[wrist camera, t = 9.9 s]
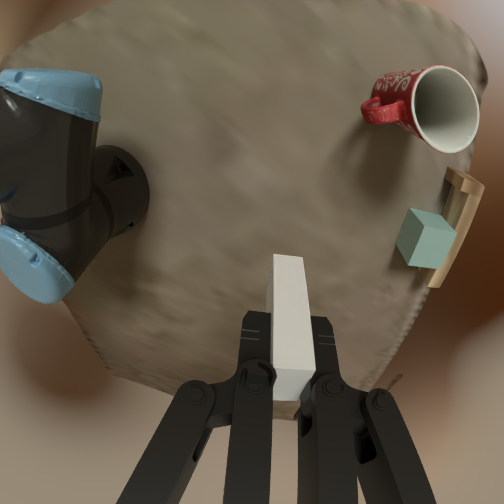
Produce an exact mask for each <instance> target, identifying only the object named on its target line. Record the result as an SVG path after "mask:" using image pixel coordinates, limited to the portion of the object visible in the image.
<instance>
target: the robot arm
mask: <svg viewBox="0 0 504 504" xmlns="http://www.w3.org/2000/svg"><path fill="white" fill-rule="evenodd" d="M102 93H103V86H102V83H101V81H100V79H99V78H98V77H96V76H94V75H92V74H88V73H83V72H76V71H68V70H58V69H43V68H22V69H6V70H3V71H2V72H1V74H0V205H1V211H2V217H3V223H2V224H1V225H0V268H1V270H2V271H3V272H4V274H5V275H6V276H7V277H8V279H9V280H10V281H11V282H12V283H13V284H14V285H15V286H16V287H17V288H18V289H19V290H20V291H22V292H23V293H24V294H26V295H27V296H28V297H30V298H32V299H34V300H36V301H38V302H40V303H44V304H54V303H57V302H59V301H60V300H61V299H62V298H63V297H64V296H65V295H66V294H67V293H68V292H69V291H70V290H71V289H72V288H73V287H74V285H75V282H76V281H77V279H78V278H79V277H80V275H81V274H82V273H83V271H84V270H85V269H86V267H87V266H88V265H89V263H90V262H91V261H92V260H93V258H94V257H95V256H96V255H97V253H98V252H99V251H100V250H101V248H102V247H103V246H104V245H105V243H106V242H107V241H108V240H109V239H111V238H113V237H116V236H118V235H120V234H122V233H125V232H127V231H128V230H130V229H131V228H133V227H134V226H135V225H136V224H137V223H138V221H139V220H140V219H141V218H142V217H143V215H144V214H145V212H146V209H147V207H148V202H149V186H148V181H147V178H146V176H145V173H144V171H143V169H142V167H141V166H140V164H139V163H138V162H137V161H136V159H135V158H134V157H133V156H132V155H130V154H129V153H128V152H126V151H125V150H123V149H121V148H118V147H115V146H110V145H103V146H98V147H96V139H97V132H98V126H99V122H100V121H101V116H100V107H101V100H102ZM299 398H300V400H301V406H300V408H299V409H298V410H297V412H296V413H295V415H294V419H293V420H296V419H297V417H298V498H297V504H358V487H357V477H358V480H359V482H360V485H361V489H362V492H363V494H364V497H365V501H366V504H436V501H435V498H434V495H433V492H432V489H431V487H430V484H429V481H428V478H427V476H426V473H425V471H424V468H423V465H422V463H421V460H420V458H419V455H418V453H417V450H416V448H415V445H414V443H413V441H412V438H411V436H410V433H409V431H408V429H407V427H406V424H405V422H404V420H403V417H402V415H401V413H400V411H399V409H398V407H397V404H396V402H395V400H394V398H393V396H392V395H391V393H390V392H388V391H387V390H385V389H381V388H377V389H373V390H371V391H370V392H369V393H368V392H365V391H361V390H358V389H354V388H352V387H350V386H349V385H347V384H346V383H345V382H344V380H343V379H342V378H341V375H340V371H339V364H338V358H337V351H336V345H335V339H334V333H333V328H332V325H331V323H330V322H329V320H328V319H327V317H318V316H310V310H309V302H308V294H307V287H306V279H305V272H304V265H303V258H302V257H295V256H287V255H278V254H273V260H272V265H271V271H270V276H269V281H268V286H267V292H266V312H257V311H248V312H247V314H246V315H245V317H244V318H243V322H242V330H241V339H240V348H239V357H238V366H237V371H236V373H235V374H234V376H233V377H232V378H230V379H229V380H227V381H225V382H221V383H215V384H209V385H208V384H207V383H205V382H203V381H199V380H192V381H188V382H186V383H184V384H182V386H181V387H180V388H179V389H178V391H177V393H176V395H175V396H174V398H173V400H172V402H171V404H170V406H169V408H168V409H167V411H166V413H165V415H164V417H163V418H162V420H161V422H160V424H159V426H158V428H157V430H156V431H155V433H154V435H153V437H152V439H151V440H150V442H149V444H148V446H147V448H146V450H145V451H144V453H143V455H142V457H141V459H140V461H139V462H138V464H137V466H136V468H135V470H134V471H133V473H132V475H131V477H130V479H129V481H128V482H127V484H126V486H125V488H124V490H123V492H122V494H121V495H120V497H119V499H118V501H117V503H116V504H179V501H180V499H181V497H182V495H183V493H184V491H185V489H186V487H187V485H188V483H189V481H190V478H191V476H192V474H193V472H194V470H195V468H196V466H197V463H198V461H199V459H200V457H201V455H202V452H203V450H204V448H205V446H206V444H207V441H208V439H209V437H210V434H211V432H212V430H213V428H217V427H222V426H228V425H231V429H230V439H229V448H228V457H227V467H226V476H225V486H224V495H223V504H269V495H270V473H271V447H272V415H273V400H284V401H298V399H299Z"/></svg>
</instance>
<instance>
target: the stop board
mask: <svg viewBox="0 0 504 504" xmlns="http://www.w3.org/2000/svg"><path fill="white" fill-rule="evenodd" d="M445 179H446V180H448V181H449V182H450V183H451V184H452V186H451V189H450V192H449V194H448V197H447V200H446V203H445V206H444V209H443V211H442V214H441V216H442V217H443V218H444V219H445V220H446V222H447V223H448V224H449V225H450V226H451V227H452V228H453V229H454V230H455V232H456V233H457V235H456V237H455V239H454V242H453V244H452V246H451V248H450V250H449V252H448V254H447V256H446V258H445V261H444V263H443V264H442V266H441V268H440V269H433V268H425V267H418V271H419V273H420V274H421V276H422V278H423V280H424V282H425V283H426V285H427V287H437V288H439V287H440V285H441V283H442V282H443V280H444V278H445V276H446V275H447V273H448V271H449V269H450V267H451V265H452V263H453V261H454V259H455V257H456V255H457V253H458V250H459V249H460V247H461V245H462V243H463V240H464V238H465V236H466V234H467V231H468V229H469V227H470V224H471V222H472V220H473V217H474V214H475V212H476V209H477V207H478V204H479V201H480V199H481V196H482V193H483V190H484V186H483V185H482V184H480V183H479V182H478V181H476V180H475V179H474V178H472V177H471V176H469V175H468V174H465V173H463V172H460V171H458V170H455V169H452V168H450V167H448V168H447V171H446V175H445Z"/></svg>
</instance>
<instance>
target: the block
mask: <svg viewBox="0 0 504 504" xmlns="http://www.w3.org/2000/svg"><path fill="white" fill-rule="evenodd" d="M456 235H457V233H456V232H455V230H454V229H453V228H452V227H451V226H450V225H449V224H448V223H447V222H446V220H445V219H444V218H443V217H442V216H441V215H437V214H433V213H429V212H425V211H421V210H417V209H412V208H409V210H408V213H407V216H406V218H405V221H404V224H403V227H402V229H401V232H400V235H399V237H398V240H397V242H396V246H397V247H398V249H399V251H400V252H401V254H402V256H403V258H404V259H405V261H406V263H407V265H409V266H417V267H425V268H433V269H440V268H441V266H442V264H443V263H444V261H445V258H446V256H447V254H448V252H449V250H450V248H451V246H452V244H453V242H454V239H455V237H456Z"/></svg>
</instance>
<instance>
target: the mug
mask: <svg viewBox="0 0 504 504" xmlns="http://www.w3.org/2000/svg"><path fill="white" fill-rule="evenodd" d="M372 97H373V98H372V99H370V100H368V101H366V102H365V103H363V104H362V105H361V113H362V116H363V118H364V120H365V121H366V122H367V123H370V124H388V123H394V124H396V125H398V126H400V127H402V128H403V129H405V130H407V131H409V132H410V133H412V134H414V135H416V136H417V137H419V138H421V139H422V140H424V141H425V142H426V143H427V144H428V145H429V146H431V147H432V148H434V149H435V150H437V151H439V152H443V153H450V154H451V153H456V152H459V151H461V150H463V149H464V148H466V147H467V146H468V145H469V144H470V143H471V142H472V140H473V138H474V136H475V134H476V132H477V129H478V124H479V106H478V101H477V98H476V95H475V93H474V91H473V89H472V87H471V85H470V84H469V82H468V81H467V80H466V78H465V77H464V76H463V75H461V74H460V73H459V72H458V71H456V70H454V69H452V68H450V67H448V66H443V65H434V66H430V67H428V68H426V69H417V70H411V71H403V72H397V73H390V74H386V75H384V76H382V77H381V78H379V79H378V80H377V82H376V83H375V85H374V88H373V93H372Z"/></svg>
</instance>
